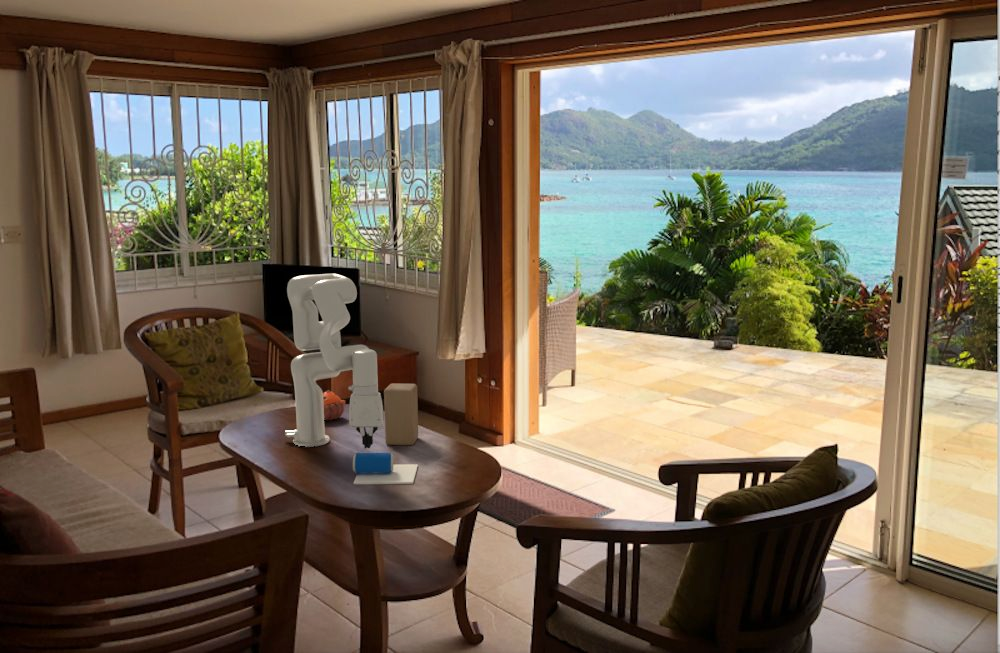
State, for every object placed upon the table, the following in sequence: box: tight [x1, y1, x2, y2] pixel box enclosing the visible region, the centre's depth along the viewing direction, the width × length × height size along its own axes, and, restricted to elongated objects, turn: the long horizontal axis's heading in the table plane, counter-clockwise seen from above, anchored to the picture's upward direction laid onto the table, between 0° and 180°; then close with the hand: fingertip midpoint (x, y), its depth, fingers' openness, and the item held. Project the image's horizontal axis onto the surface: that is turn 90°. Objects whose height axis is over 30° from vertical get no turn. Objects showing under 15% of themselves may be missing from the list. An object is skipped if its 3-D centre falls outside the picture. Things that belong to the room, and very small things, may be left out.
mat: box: [353, 463, 419, 485], centre depth 261 cm, size 18×16×1 cm
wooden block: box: [383, 382, 419, 446], centre depth 293 cm, size 10×10×20 cm
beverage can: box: [352, 452, 395, 475], centre depth 260 cm, size 6×6×12 cm
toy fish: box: [323, 389, 346, 421], centre depth 321 cm, size 12×10×11 cm
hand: (367, 446), depth 259 cm, fingers closed
